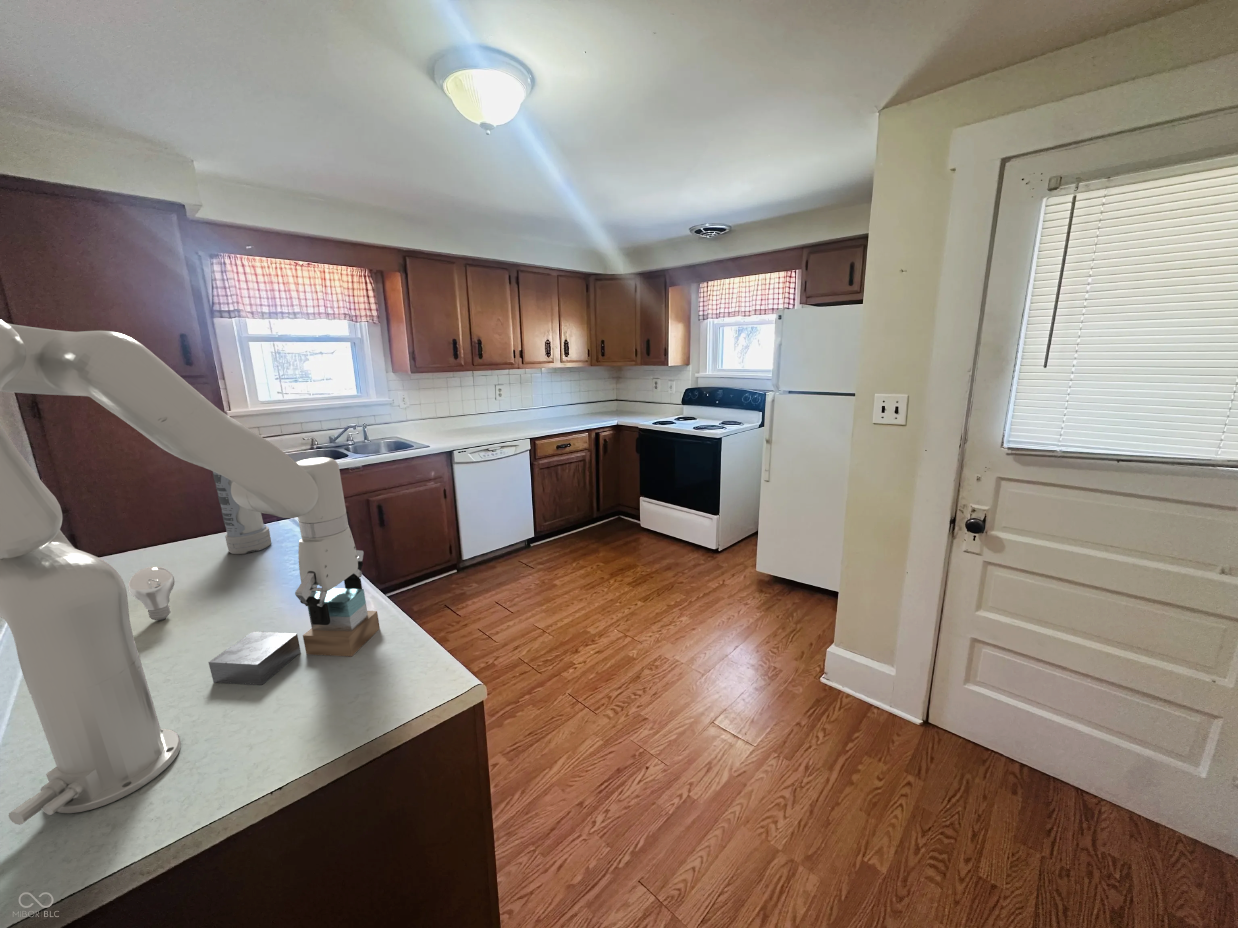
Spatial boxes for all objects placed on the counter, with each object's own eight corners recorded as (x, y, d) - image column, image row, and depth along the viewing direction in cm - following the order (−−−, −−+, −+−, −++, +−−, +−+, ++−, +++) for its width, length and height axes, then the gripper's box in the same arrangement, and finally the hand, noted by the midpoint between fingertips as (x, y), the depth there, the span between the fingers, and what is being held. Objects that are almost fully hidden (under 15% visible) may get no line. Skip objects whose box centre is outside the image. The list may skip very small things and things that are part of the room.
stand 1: (261, 684, 82) (257, 664, 81) (213, 682, 83) (208, 662, 82) (300, 652, 90) (297, 633, 89) (256, 650, 91) (252, 631, 90)
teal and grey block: (312, 629, 90) (306, 601, 89) (329, 615, 95) (325, 587, 94) (352, 631, 90) (347, 602, 88) (368, 616, 95) (363, 589, 93)
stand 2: (351, 656, 89) (348, 637, 88) (306, 654, 90) (302, 635, 89) (379, 628, 98) (377, 610, 97) (338, 626, 98) (335, 609, 97)
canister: (229, 558, 132) (205, 451, 125) (228, 547, 140) (205, 446, 133) (273, 547, 139) (252, 446, 132) (270, 537, 146) (250, 441, 139)
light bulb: (152, 631, 98) (137, 577, 95) (131, 625, 100) (115, 573, 97) (191, 613, 104) (178, 563, 102) (170, 608, 107) (157, 558, 104)
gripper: (336, 509, 97) (349, 587, 101) (267, 544, 80) (286, 635, 84) (371, 510, 96) (383, 588, 100) (309, 545, 79) (326, 636, 83)
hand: (339, 609), depth 92 cm, fingers open, 9 cm apart
